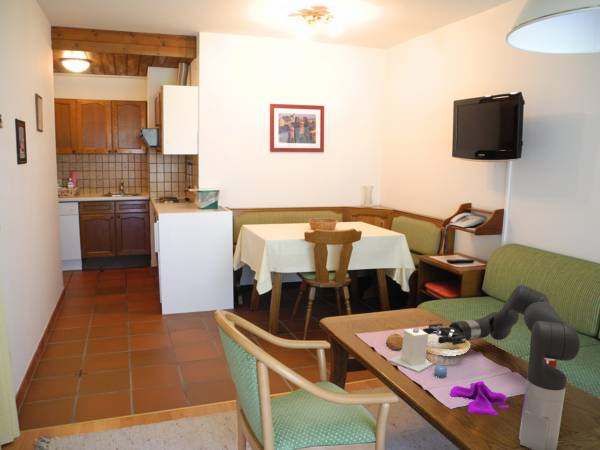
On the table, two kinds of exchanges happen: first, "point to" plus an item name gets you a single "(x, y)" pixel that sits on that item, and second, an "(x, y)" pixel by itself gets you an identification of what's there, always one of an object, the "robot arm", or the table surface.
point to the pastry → (395, 341)
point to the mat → (415, 368)
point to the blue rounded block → (440, 371)
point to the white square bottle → (414, 346)
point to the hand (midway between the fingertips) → (431, 336)
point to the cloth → (480, 398)
